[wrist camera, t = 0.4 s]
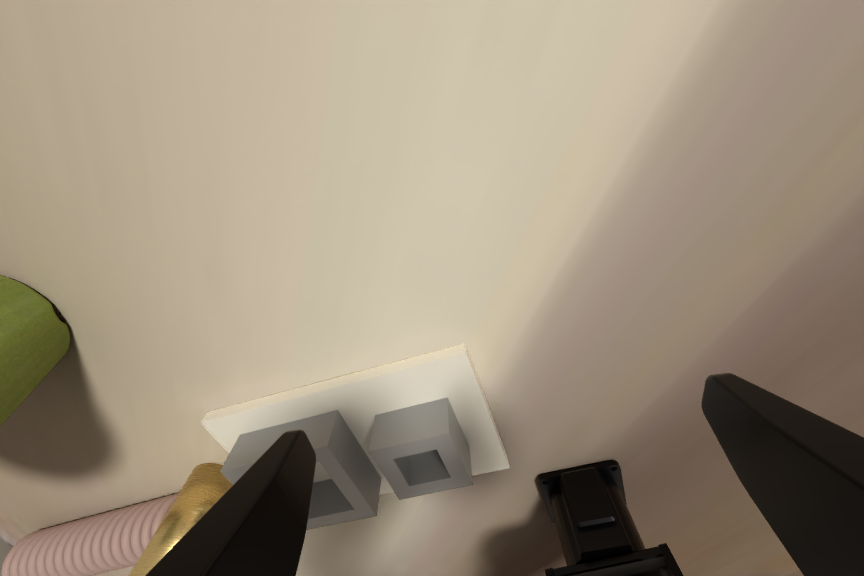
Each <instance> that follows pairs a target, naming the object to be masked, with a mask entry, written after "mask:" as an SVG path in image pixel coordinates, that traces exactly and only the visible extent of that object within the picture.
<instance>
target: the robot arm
mask: <svg viewBox="0 0 864 576" xmlns="http://www.w3.org/2000/svg"><path fill="white" fill-rule="evenodd" d="M702 410H703V413H704V415H705V417H706V419H707V421H708V423H709V424H710V426H711V428H712V430H713V432H714V434H715V435H716V437H717V439H718V441H719V443H720V445H721V446H722V448H723V450H724V452H725V454H726V456H727V458H728V459H729V461H730V463H731V465H732V467H733V469H734V470H735V472H736V474H737V476H738V477H739V479H740V481H741V483H742V484H743V486H744V487H745V489H746V491H747V492H748V494H749V495H750V497H751V498H752V500H753V501H754V503H755V504H756V506H757V507H758V508H759V510H760V511H761V513H762V514H763V516H764V517H765V519H766V520H767V522H768V523H769V525H770V526H771V528H772V529H773V531H774V532H775V534H776V535H777V537H778V538H779V539H780V541H781V542H782V544H783V545H784V547H785V548H786V550H787V551H788V553H789V554H790V556H791V557H792V559H793V560H794V562H795V563H796V565H797V566H798V567H799V569H800V570H801V572H802V573H803V575H804V576H864V437H861V436H859V435H857V434H855V433H853V432H851V431H849V430H847V429H845V428H843V427H841V426H839V425H837V424H835V423H833V422H831V421H829V420H826V419H824V418H822V417H820V416H818V415H816V414H814V413H812V412H810V411H808V410H806V409H804V408H802V407H800V406H798V405H796V404H793V403H791V402H789V401H787V400H785V399H783V398H781V397H779V396H777V395H775V394H773V393H771V392H769V391H767V390H765V389H763V388H761V387H758V386H756V385H754V384H752V383H750V382H748V381H746V380H744V379H742V378H740V377H738V376H736V375H733V374H730V373H723V374H715V375H710V376H708V377H707V379H706V381H705V387H704V392H703V397H702ZM315 466H316V453H315V450H314V448H313V446H312V444H311V442H310V440H309V438H308V436H307V434H306V433H305V431H303V430H301V429H298V430H291V431H286V432H284V433H283V434H282V435H281V436H280V437H279V438H278V439H277V440H276V441H275V442H274V443H273V444H272V445H271V446H270V447H269V448H268V450H267V451H266V452H265V453H264V454H263V455H262V456H261V457H260V458H259V459H258V460H257V461H256V462H255V463H254V464H253V465H252V466H251V467H250V468H249V469H248V470H247V471H246V472H245V473H244V474H243V475H242V476H241V477H240V478H239V479H238V480H237V481H236V482H235V484H234V485H233V486H232V487H231V488H230V489H229V490H228V491H227V492H226V493H225V494H224V495H223V496H222V497H221V498H220V499H219V500H218V501H217V502H216V503H215V504H214V505H213V506H212V507H211V508H210V509H209V510H208V511H207V512H206V513H205V514H204V515H203V517H202V518H201V519H200V520H199V521H198V522H197V523H196V524H195V525H194V526H193V527H192V528H191V529H190V530H189V531H188V532H187V533H186V534H185V535H184V536H183V537H182V538H181V539H180V540H179V541H178V542H177V543H176V544H175V545H174V546H173V547H172V548H171V550H170V551H169V552H168V553H167V554H166V555H165V556H164V557H163V558H162V559H161V560H160V561H159V562H158V563H157V564H156V565H155V566H154V567H153V568H152V569H151V570H150V571H149V572H148V573H147V574H146V575H145V576H295V575H296V571H297V567H298V563H299V559H300V555H301V551H302V547H303V542H304V538H305V533H306V529H307V523H308V517H309V509H310V502H311V495H312V488H313V481H314V474H315ZM538 482H539V485H540V488H541V491H542V494H543V497H544V500H545V503H546V506H547V509H548V512H549V515H550V518H551V521H552V522H554V523H556V526H557V530H558V534H559V537H560V541H561V545H562V548H563V552H564V556H565V560H566V563H567V566H565V567H561V568H556V569H553V568H549V569H545V572H546V576H683V574H682V572H681V570H680V568H679V566H678V565H677V563H676V561H675V559H674V557H673V555H672V553H671V551H670V549H669V548H668V546H667V544H666V543H665V544H660V545H658V547H654V548H649V549H645V547H644V544H643V542H642V540H641V538H640V535H639V533H638V531H637V528H636V526H635V524H634V522H633V519H632V517H631V515H630V513H629V510H628V508H627V505H626V499H625V493H624V487H623V481H622V475H621V469H620V466H619V464H618V462H617V461H614V460H612V461H607V462H602V463H597V464H592V465H587V466H582V467H577V468H572V469H567V470H562V471H557V472H552V473H547V474H542V475H540V476H539V477H538Z"/></svg>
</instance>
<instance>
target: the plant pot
mask: <svg viewBox="0 0 864 576" xmlns="http://www.w3.org/2000/svg"><path fill="white" fill-rule="evenodd" d="M69 345H70V333H69V330H68V327H67V325H66V324H65V323H63V322H61V321H60V320H59V319H58V317H57V315H56V314H55V312H54V310H53V307H52V305H51V304H50V303H49V302H48V301H47V300H46V299H45V298H44V297H42V296H41V295H40V294H38V293H37V292H35V291H34V290H32V289H31V288H29V287H27V286H26V285H24V284H22V283H20V282H18V281H15V280H13V279H11V278H8V277H5V276H2V275H0V426H1V425H2V424H3V423H4V422H5V421H6V419H7V418H8V417H9V416H10V415H11V414H12V413H13V412H14V411H15V409H16V408H17V407H18V406H19V405H20V404H21V403H22V402H23V401H24V399H25V398H26V397H27V396H28V395H29V394H30V393H31V392H32V391H33V390H34V388H35V387H36V386H37V385H38V384H39V383H40V382H41V381H42V380H43V378H44V377H45V376H46V375H47V374H48V373H49V372H50V371H51V370H52V368H53V367H54V366H55V365H56V364H57V363H58V362H59V361H60V359H61V358H62V357H63V356H64V355H65V354H66V352H67V351H68V349H69Z"/></svg>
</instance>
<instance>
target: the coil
mask: <svg viewBox="0 0 864 576" xmlns="http://www.w3.org/2000/svg"><path fill="white" fill-rule="evenodd" d="M178 494H179V493H177V494H172V495H169V496H166V497H161V498H158V499H154V500H150V501H148V502H143V503H139V504H135V505H132V506H129V507H124V508H121V509H116V510H113V511H109V512H105V513H103V514H98V515H95V516H90V517H87V518H83V519H79V520H76V521H72V522H69V523H64V524H61V525H57V526H53V527H49V528H46V529H42V530H38V531H35V532H33V533H31V534H29V535H27V536H26V537H24V538H23V539H21V540H20V541H19V542H18V543H17V544H16V545H15V546H14V547H13V548H12V549H11V550H10V552H9V553H8V554H7V556H6V558H5V560H4V563H3V565H2V570H1V576H91V575H96V574H100V573H105V572H109V571H113V570H117V569H121V568H126V567H129V566H135V564H136V563H137V561H138V560H139V558H140V556H141V555H142V553H143V551H144V550H145V548H146V546H147V545H148V543H149V541H150V540H151V538H152V537H153V535H154V533H155V532H156V530H157V528H158V527H159V525H160V523H161V522H162V520H163V519H164V517H165V515H166V514H167V512H168V510H169V509H170V507H171V505H172V504H173V502H174V501H175V499H176V497H177V496H178Z"/></svg>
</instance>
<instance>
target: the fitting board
mask: <svg viewBox="0 0 864 576" xmlns="http://www.w3.org/2000/svg"><path fill="white" fill-rule="evenodd" d="M201 424H202V425H203V426H204V427H205V428H206V429H207V430H208V432H209V433H210V434H211V435H212V436H213V437H214V438H215V439H216V440H217V441H218V443H219V444H220V445H221V446H222V447H223V448H224V449H225V450H226V451H227V453H228V454H229V455H228V457H227V459H226V461H225V463H224V465H223V466H222V468H221V470H220V472H221V473H222V474H223V475H224V476H225V477H226V478H227V479H228V480H229V482H230V483H231V484H232V485H234V484H235V482H236V481H237V480H238V479H239V478H240V477H241V476H242V475H243V474H244V473H245V472H246V471H247V470H248V469H249V468H250V467H251V466H252V465H253V464H254V463H255V462H256V461H257V460H258V459H259V458H260V457H261V456H262V455H263V454H264V453H265V452H266V451H267V450H268V448H269V447H270V446H271V445H272V444H273V443H274V442H275V441H276V440H277V439H278V438H279V437H280V436H281V435H282V434H283V433H284V432H286V431H291V430H298V429H301V430H303V431H305V433H306V434H307V436H308V438H309V440H310V442H311V444H312V446H313V448H314V450H315V453H316V466H315V474H314V481H313V488H312V495H311V502H310V509H309V517H308V523H307V529H306V530H308V529H313V528H318V527H323V526H328V525H333V524H338V523H343V522H348V521H353V520H358V519H363V518H368V517H373V516H377V508H378V501H379V495H383V494H388V493H392V492H395V494H396V495H397V497H398V498H399V500H400V499H405V498H410V497H415V496H420V495H425V494H430V493H435V492H440V491H445V490H450V489H454V488H459V487H464V486H469V485H473V479H472V476H474V475H479V474H484V473H489V472H494V471H499V470H503V469H508V468H510V467H509V461H508V456H507V454H506V451H505V448H504V446H503V443H502V440H501V438H500V435H499V432H498V430H497V427H496V425H495V422H494V419H493V417H492V414H491V411H490V409H489V406H488V403H487V401H486V398H485V395H484V393H483V390H482V387H481V385H480V382H479V379H478V377H477V374H476V371H475V369H474V366H473V363H472V361H471V358H470V355H469V353H468V350H467V347H466V345H465V343H464V344H460V345H457V346H453V347H449V348H445V349H442V350H438V351H434V352H430V353H427V354H423V355H419V356H415V357H412V358H408V359H404V360H400V361H397V362H393V363H389V364H385V365H382V366H378V367H374V368H370V369H367V370H363V371H359V372H356V373H352V374H348V375H344V376H341V377H337V378H333V379H329V380H326V381H322V382H318V383H314V384H311V385H307V386H303V387H299V388H296V389H292V390H288V391H284V392H281V393H277V394H273V395H269V396H266V397H262V398H258V399H254V400H251V401H247V402H243V403H239V404H236V405H232V406H228V407H224V408H221V409H217V410H213V411H210V412H207V414H206V415H205V417H204V418H203V420H202V421H201Z"/></svg>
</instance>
